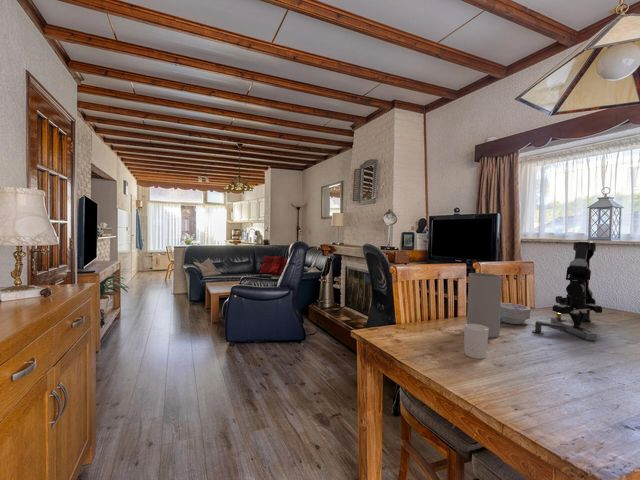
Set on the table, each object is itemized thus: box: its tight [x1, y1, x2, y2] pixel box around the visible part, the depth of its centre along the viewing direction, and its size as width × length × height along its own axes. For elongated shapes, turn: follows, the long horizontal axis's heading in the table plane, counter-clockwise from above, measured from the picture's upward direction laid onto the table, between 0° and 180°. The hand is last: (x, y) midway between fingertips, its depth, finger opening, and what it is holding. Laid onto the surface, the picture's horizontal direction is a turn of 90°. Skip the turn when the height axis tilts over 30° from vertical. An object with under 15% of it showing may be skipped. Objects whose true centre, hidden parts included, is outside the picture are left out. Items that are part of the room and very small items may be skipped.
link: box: [550, 316, 598, 341], centre depth 148 cm, size 24×6×3 cm, turn 176°
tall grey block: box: [466, 272, 503, 339], centre depth 143 cm, size 12×12×25 cm
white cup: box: [463, 323, 489, 360], centre depth 118 cm, size 8×8×10 cm
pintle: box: [554, 311, 564, 319], centre depth 157 cm, size 7×7×6 cm
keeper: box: [531, 320, 566, 335], centre depth 144 cm, size 4×12×5 cm, turn 50°
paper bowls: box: [500, 302, 531, 325], centre depth 163 cm, size 15×15×8 cm
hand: (576, 328), depth 149 cm, fingers closed
